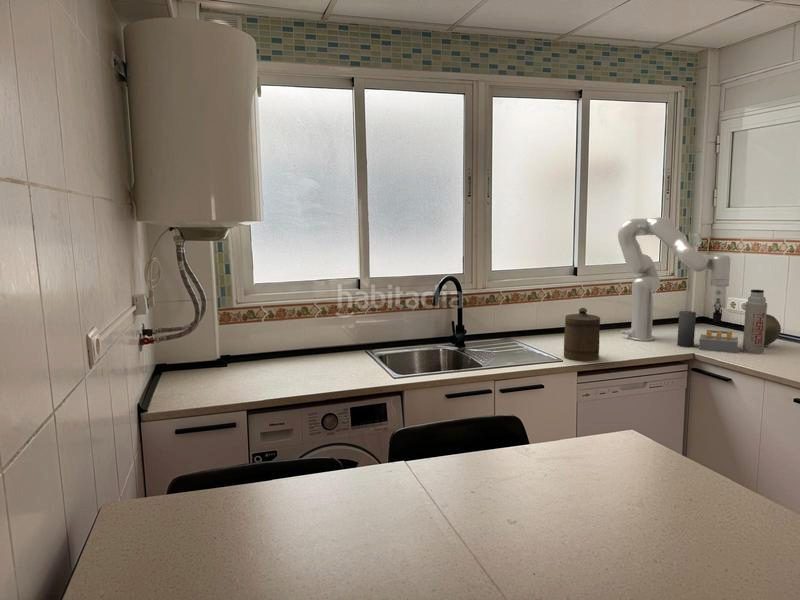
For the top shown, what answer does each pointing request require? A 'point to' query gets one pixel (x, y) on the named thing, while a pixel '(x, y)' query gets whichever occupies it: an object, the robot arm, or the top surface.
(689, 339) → the dark gray cylinder
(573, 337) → the wooden container
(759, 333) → the thermos bottle
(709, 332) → the breaker paddles
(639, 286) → the robot arm
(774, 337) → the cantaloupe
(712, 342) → the breaker box
